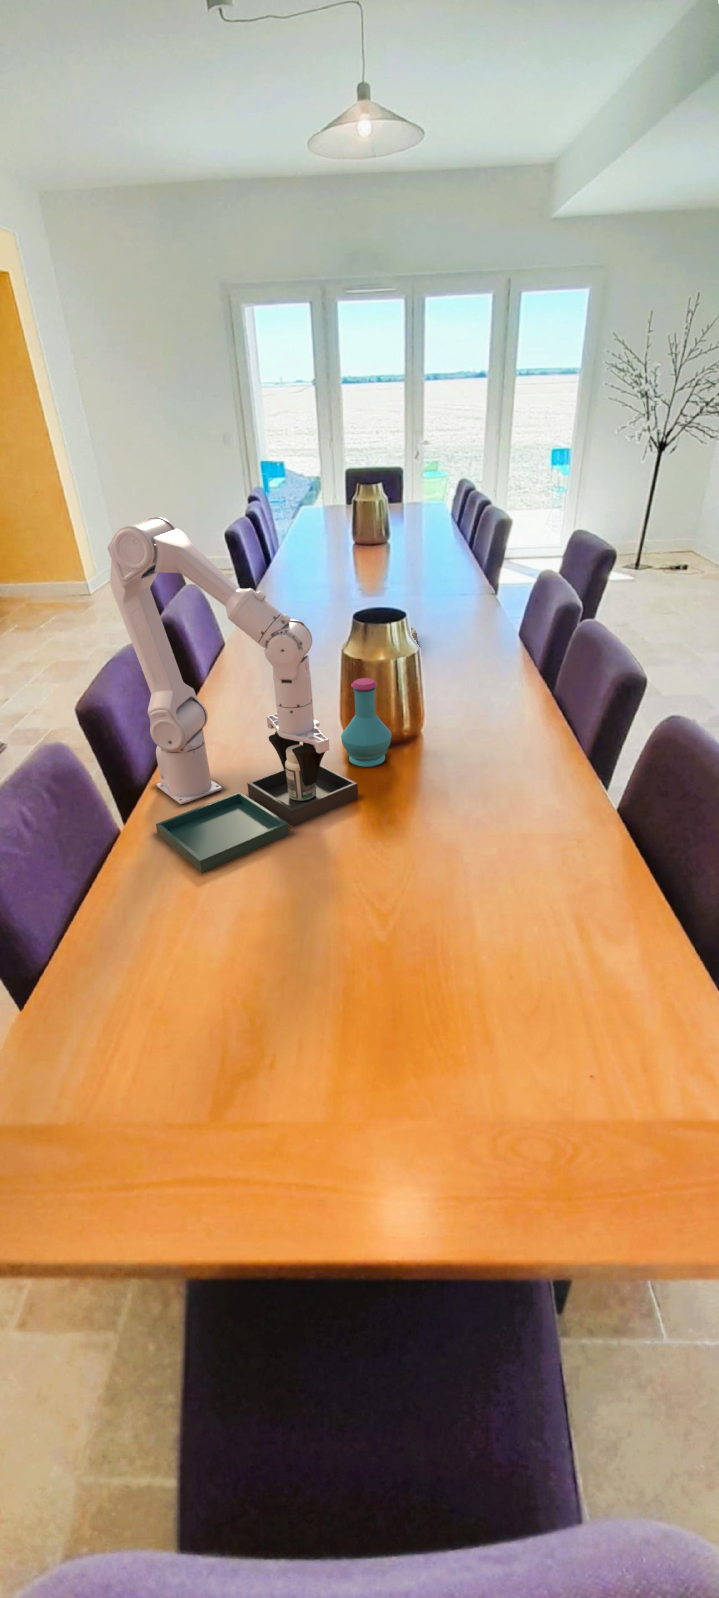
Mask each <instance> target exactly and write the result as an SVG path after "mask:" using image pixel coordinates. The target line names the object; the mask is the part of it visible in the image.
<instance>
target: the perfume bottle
mask: <svg viewBox="0 0 719 1598" xmlns="http://www.w3.org/2000/svg"><path fill="white" fill-rule="evenodd" d="M350 686H351V688H353V689H352V691H353V692H354V710H355V713H354V714H355V715H354V716H353V717H352V719H351V720H350V722H349V723H348V725H346V727H345V729H344V730H343V731H342V733H341V735H340V738H341V743H342V746H343V748H344V749H345V752H346V754H347V756H348V758H349V762H350V763H351V764H352V765H354V766H358V767H364V768H365V767H374V766H378V765H381V764H382V763H383V762H384V761H385V760H386V754H387V753H388V749H389V747H390V745H391V742H392V732H391V730H390V729H389V728H388V727H387V726H386V725H385V723H384V722H383V721H382V720H381V718H380V717H379V716H378V715H377V713H376V693H375V692H376V687H377V686H378V683H377V682H376V681H375V680H374V679H373V678H369V677H361V678H357V679H355V680H354V681H353V682H352V683H351V684H350Z"/></svg>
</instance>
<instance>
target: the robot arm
mask: <svg viewBox="0 0 719 1598" xmlns="http://www.w3.org/2000/svg"><path fill="white" fill-rule="evenodd" d="M106 548H107V551H108V554H109V557H110V573H109V574H110V575H109V585H110V588H111V591H112V595H113V597H114V599H115V601H116V604H117V607H118V610H119V612H120V615H121V617H122V620H123V623H124V626H125V628H126V631H127V633H128V636H129V640H130V642H131V644H132V647H133V649H134V652H135V654H136V657H137V660H138V662H139V665H140V667H141V670H142V673H143V676H144V678H145V680H146V684H147V687H148V689H149V692H150V700H149V703H148V708H147V715H148V718H149V723H150V727H149V734H150V737H151V739H152V741H153V743H155V745H156V749H155V757H156V762H157V767H158V772H159V777H160V782H158V783H156V787H157V788H158V789H160V790H161V791H162V792H163V793H165V794H166V795H168V796H169V797H170V798H172V799H173V800H174V801H175V802H177V803H178V804H179V805H185V804H187V803H189V802H193V801H195V800H197V799H200V798H203V797H205V796H209V795H211V794H214V793H216V792H219V791H221V790H222V789H223V788H222V786H221V785H220V784H218V783H217V782H215V781H214V780H212V777H211V770H210V765H209V758H208V752H207V745H206V740H205V734H204V728H205V726H206V725H207V723H208V719H209V715H208V711H207V709H206V707H205V705H204V704H203V703H202V701H201V700H200V699H199V698H198V697H197V694H196V692H195V689H194V688H193V687H191V686H189V685H188V684H186V683H185V682H184V680H183V678H182V677H183V676H182V674H181V672H180V668H179V666H178V663H177V660H176V658H175V654H174V652H173V649H172V646H171V643H170V641H169V638H168V635H167V633H166V628H165V625H164V624H163V620H162V618H161V615H160V613H159V609H158V607H157V604H156V601H155V599H154V596H153V593H152V590H151V586H152V585H153V583H154V581H155V579H156V577H157V575H158V573H162V574H163V573H165V574H181V575H183V576H184V577H185V578H186V579H188V580H189V581H190V582H192V583H193V584H194V585H196V586H197V587H199V588H200V589H201V590H202V591H204V592H205V593H207V594H208V595H209V596H211V597H212V598H214V599H215V600H216V601H217V602H218V603H220V604H221V605H223V606H224V607H225V610H226V614H227V619H228V620H229V621H230V622H232V624H234V625H235V626H236V627H237V628H239V630H241V631H242V632H244V633H245V634H246V635H247V636H248V637H249V638H250V639H252V640H253V641H254V642H255V643H257V644H258V645H259V646H260V647H262V648H264V649H263V653H264V656H265V658H266V661H268V662H269V663H270V665H271V666H272V673H273V674H272V677H273V687H274V696H275V697H274V698H275V705H276V706H275V707H276V713H273V714H271V715H267V716H266V723H267V724H266V725H267V728H268V729H270V730H273V729H274V730H275V732H274V733H273V734H270V735H269V736H268V741H269V742H270V744H271V745H272V746H273V749H274V750H275V752H276V753H277V755H278V758H279V760H280V763H281V765H282V769H284V771H285V773H286V768H285V762H286V760H287V757H286V749H287V748H288V747H290V746H293V745H298V744H300V743H302V745H303V746H299V747H296V748H293V749H292V752H293V753H294V755H295V756H296V758H297V760H298V763H299V766H300V770H301V776H302V781H303V783H304V785H305V786H309V785H311V784H314V783H316V781H317V776H318V771H319V766H320V764H321V763H322V760H323V758H324V755H325V753H326V752H327V751H328V752H329V751H330V739H329V738H328V737H326V736H325V734H323V733H322V732H321V730H320V729H319V728H318V727H320V721H319V720H316V719H315V718H314V706H313V705H314V704H313V689H312V677H311V670H310V657H309V655H307V654H308V653H309V652H310V650H311V648H312V646H313V636H312V633H311V631H310V629H309V628H308V626H306V624H305V623H304V622H303V621H302V620H299V619H295V618H294V619H292V617H290V616H289V615H288V614H286V613H285V614H283V612H281V611H279V610H278V609H277V608H276V606H273V604H271V603H270V602H269V601H268V600H266V597H267V595H266V594H265V593H264V592H263V591H261V590H258V591H256V590H255V589H253V588H251V587H249V588H241V587H239V586H238V585H237V584H236V583H235V582H233V581H232V580H231V579H230V578H229V577H228V576H227V575H226V574H225V573H224V572H223V571H222V570H220V568H218V566H217V565H216V564H214V563H213V562H212V561H211V560H210V559H209V558H208V557H207V556H206V555H205V554H204V553H202V551H200V550H199V549H198V548H197V547H196V545H194V544H193V543H192V541H191V540H190V539H189V537H188V536H187V534H186V533H185V532H184V531H182V530H181V529H179V528H176V527H175V525H174V524H173V523H172V522H171V521H170V520H168V519H166V518H164V517H162V516H152V517H150V518H148V519H145V520H143V521H139V522H137V523H134V524H131V525H124V526H121V527H120V528H118V529H117V530H116V532H115V533H114V534H113V537H112V538H111V539H110V542H109V543H108V544H107V547H106Z"/></svg>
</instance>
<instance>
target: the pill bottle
mask: <svg viewBox="0 0 719 1598" xmlns="http://www.w3.org/2000/svg"><path fill="white" fill-rule="evenodd" d="M299 746H303V743H302V744H298V745H293V746H290V747H288V748H287V749H286V757H287V760H286V762H285V768H286V776H287V785H288V794H289V797H290V798H291V799H293V800H297V801H304V800H309V799H311V798H313V797H314V796H315V795H316V783H314V784H311V785H309V786H305V785H304V783H303V781H302V776H301V770H300V766H299V763H298V760H297V758H296V756H295V755H294V753H293V752H292V749H293V748H296V747H299Z"/></svg>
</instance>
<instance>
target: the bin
mask: <svg viewBox="0 0 719 1598" xmlns="http://www.w3.org/2000/svg"><path fill="white" fill-rule="evenodd" d="M246 786H247V790H248V791H247V792H248V793H247V794H248V797H249V798H250V799H252V800H253V801H255V802H256V803H258V804H260V805H261V806H263V807H264V808H266V809H267V810H269V811H270V812H272V813H273V814H275V815H276V816H278V817H279V818H281V819H283V820H284V821H286V822H287V823H288V825H291V826H292V827H295V826H298V825H299V824H302V823H304V822H307V821H309V820H311V819H313V818H316V817H318V816H320V815H323V814H325V813H327V812H330V811H332V810H334V809H336V808H339V807H342V806H343V805H346V804H348V803H351V802H352V801H355V800H357V799H359V792H358V791H359V787H358V783H357V782H355V781H354V780H352V779H349V778H348V777H346V776H344V775H342V774H340V773H338V772H336V771H334V770H333V769H331V768H329V767H327V766H325V765H323V764H321V763H320V766H319V771H318V776H317V781H316V795H315V796H314V797H313V798H311V799H309V800H304V801H297V800H293V799H291V798H290V797H289V794H288V785H287V776H286V773H285V771H284V768H282V769H280V770H277V771H275V772H272V773H269V774H267V775H264V776H261V777H259V778H256V779H254V780H250V781H248V782H246Z"/></svg>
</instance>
